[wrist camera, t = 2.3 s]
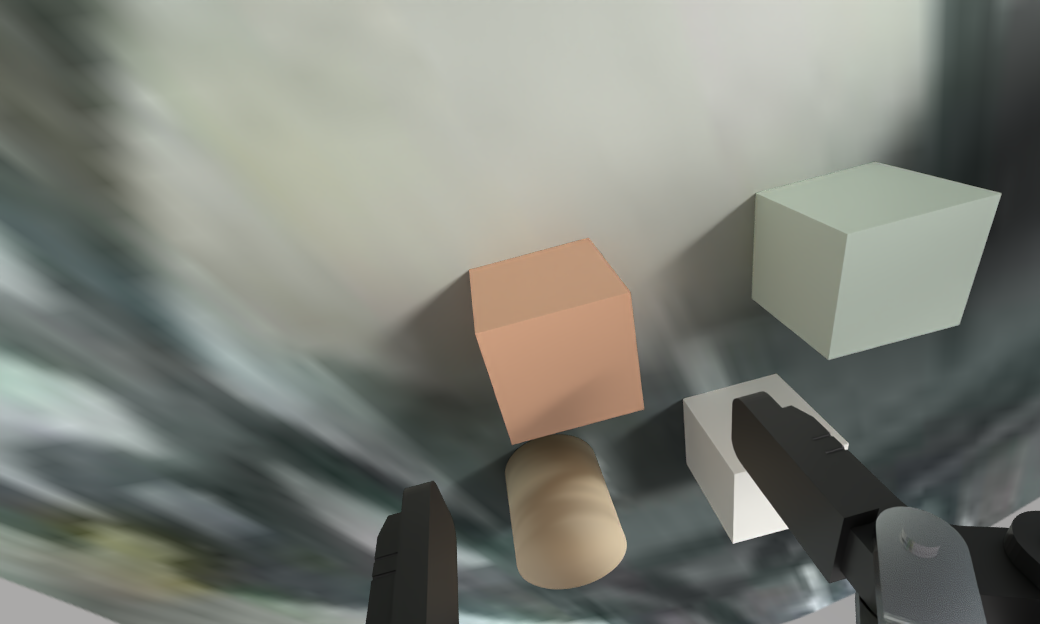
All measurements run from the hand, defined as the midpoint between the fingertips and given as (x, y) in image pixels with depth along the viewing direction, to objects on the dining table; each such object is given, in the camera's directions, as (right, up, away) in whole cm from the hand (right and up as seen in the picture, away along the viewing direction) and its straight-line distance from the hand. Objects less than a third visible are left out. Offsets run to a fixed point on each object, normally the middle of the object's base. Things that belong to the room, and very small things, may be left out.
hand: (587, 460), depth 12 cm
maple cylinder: (0, -5, +13) cm, 14 cm away
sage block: (+11, +7, +8) cm, 15 cm away
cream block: (+10, -2, +13) cm, 16 cm away
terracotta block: (-1, +4, +8) cm, 9 cm away
